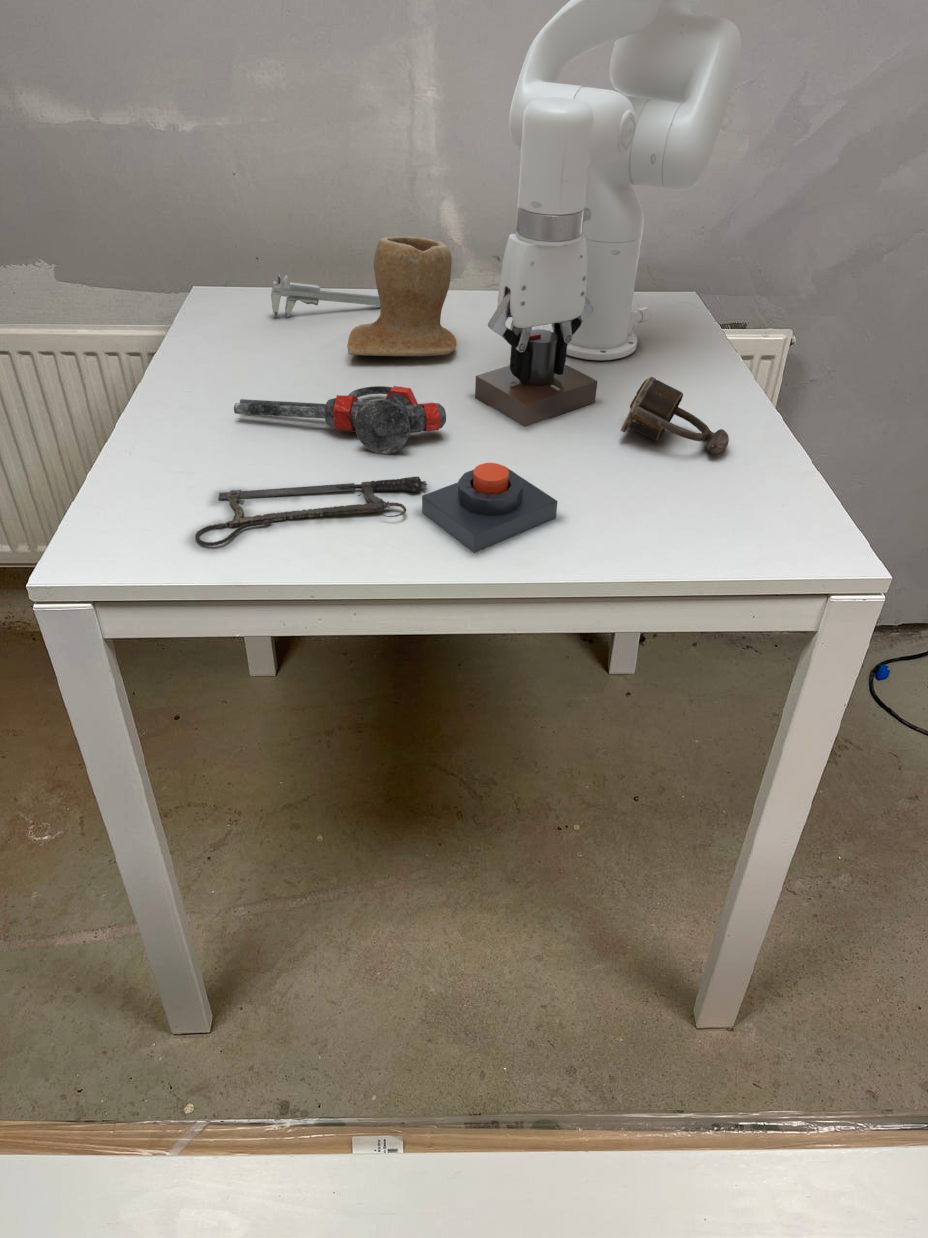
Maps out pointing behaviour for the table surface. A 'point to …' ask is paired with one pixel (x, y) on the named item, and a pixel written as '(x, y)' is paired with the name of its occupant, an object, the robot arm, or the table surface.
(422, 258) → the stone cup
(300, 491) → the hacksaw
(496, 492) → the button
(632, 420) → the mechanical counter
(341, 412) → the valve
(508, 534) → the button box
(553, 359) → the dial
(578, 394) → the dial panel
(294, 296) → the caliper
